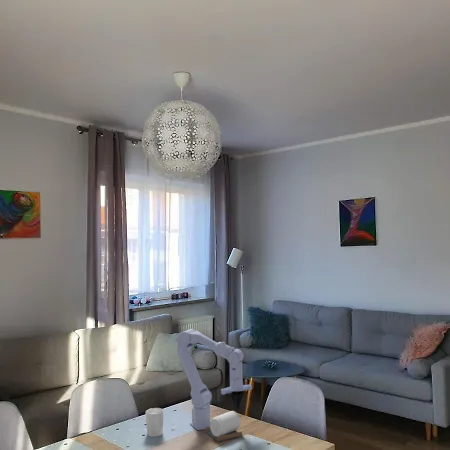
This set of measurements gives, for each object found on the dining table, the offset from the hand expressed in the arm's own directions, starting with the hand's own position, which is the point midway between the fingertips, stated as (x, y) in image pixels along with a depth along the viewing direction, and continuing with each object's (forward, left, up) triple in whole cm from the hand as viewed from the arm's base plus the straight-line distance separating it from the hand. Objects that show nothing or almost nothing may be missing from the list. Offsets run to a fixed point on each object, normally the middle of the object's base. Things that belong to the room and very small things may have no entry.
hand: (236, 408), depth 205 cm
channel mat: (0, -7, -10) cm, 12 cm away
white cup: (-15, -33, -10) cm, 38 cm away
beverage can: (-1, 0, -5) cm, 5 cm away
